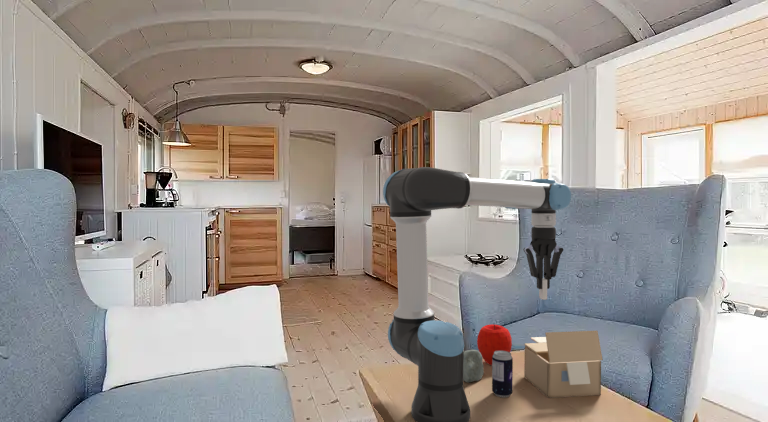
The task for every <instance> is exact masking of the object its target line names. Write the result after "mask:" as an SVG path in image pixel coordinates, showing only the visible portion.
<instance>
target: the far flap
mask: <svg viewBox="0 0 768 422" xmlns="http://www.w3.org/2000/svg"><path fill="white" fill-rule="evenodd" d="M530 340H532V341H533V342H531V343H530V342H527V343H524V347H525V346H526V347H528V348H529V349H531V350H532V351H533V352H535V353H548V348H547V342H546V336H536V337H530Z"/></svg>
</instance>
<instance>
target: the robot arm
mask: <svg viewBox="0 0 768 422" xmlns="http://www.w3.org/2000/svg"><path fill="white" fill-rule="evenodd" d="M382 196H383V199H384V202H385V204H386V205H387V206H389V218H390V219H391V220H392V221H393V222H394V223H395V233H396V234H395V238H396V263H397V265H396V267H397V268H396V269H397V295H398V296H397V297H398V298H397V299H398V307H397V308H396V309H395V310H394V311H393V319H392V322H391V323H389V324H388V325H389V326H388V330H387V340H388V342H389V345H390V346H391V348H392V349H393V350H394V351H395V352H396V354H398V355H399V356H400V357H402V358H404V359H406V360H408V361H410V362H411V363H412V364H414V365H416V366H417V373H418V374H417V375H418V376H417V378H418V379H417V380H418V381H417V383H418V384H417V388H416V390H415V394H414V397H413V400H412V403H411V418H412V419H413V420H414V421H415V422H469V421H470V419H471V407H470V404H469V401H468V398H467V397H468V396H467V394H466V391H465V389H464V381H463V360H464V351H465V339H464V334H463V331H462V329H461V328H460V327H459V326H457V325H456V324H454V323H452V322H449V321H446V322H445V321H444V320H435V310H433V309H432V308H431V307H430V303H429V273H428V272H429V271H428V243H427V242H428V239H427V238H428V237H427V222H428V221H429V219H430V218H431V217H432V211H436V210H437V211H438V210H444V209H445V210H449V209H463V208H464V207H466V206H475V207H476V206H477V207H498V208H505V209H509V210H510V209H511V210H518V209H521V210H524V209H525V210H531V211H530V213H531V219H530V220H531V222H530V223H531V224H530V225H531V226H532V227H531V229H530V230H531V241H530V243H529V246H527V247H524V248H523V252H524V254H525V255H526V259H527V263H528V267H529V274H530V276H531V277H533V278H536V288H537V289H538V292H539V293H538V294H539V295H538V299H540V300H542V301H544V300H545V301H546V300H548V289H550V287H551V285H550V282H551V281H550V280H552V278H555V277H556V275H557V271H558V267H559V263H560V258H561V255H562V253H563V252H564V248H563V247H561V246H559V245H558V244H557V241H556V237H557V235H556V234H557V231H556V227H555V226H556V225H557V224H556V223H557V221H556V220H557V217H556V216H557V211H558V210H559V211H560V210H565V209H567V207H569V206H570V204H571V202H572V191H571V189H570V187H569V186H568V185H567V184H565V183H558V182H556V180H555V179H553V178H534V179H532V181H523V180H522V181H521V180H511V179H500V178H488V177H475V176H468V174H467V173H465V172H461V171H453V170H447V169H442V168H436V167H431V166H430V167H429V166H422V167H415V168H414V167H413V168H402V169H399V170H396V171H395V172H392V174H390V175H388V177H387V178H386V180H385V181H384V183H383V189H382ZM553 251H554V252H553ZM533 252H534V254H535V257H534V254H533ZM552 254H553V255H552ZM534 258H536V259H534Z"/></svg>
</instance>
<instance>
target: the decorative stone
mask: <svg viewBox="0 0 768 422" xmlns="http://www.w3.org/2000/svg"><path fill="white" fill-rule="evenodd" d="M483 362H484V359H483V357H482V355H481V353H480V352H479V349H468V350H464V360H463V382H465V383H471V382H478V381H480V380H482V377H483V376H484V374H485V373H484V364H483Z"/></svg>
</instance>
